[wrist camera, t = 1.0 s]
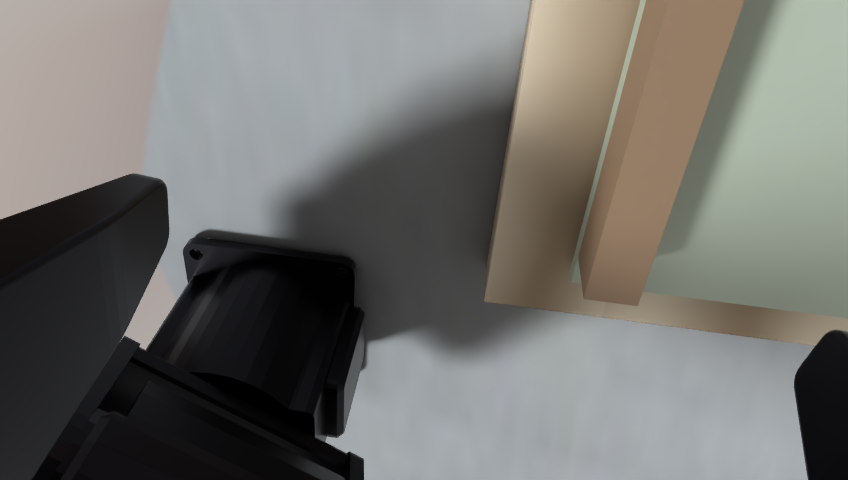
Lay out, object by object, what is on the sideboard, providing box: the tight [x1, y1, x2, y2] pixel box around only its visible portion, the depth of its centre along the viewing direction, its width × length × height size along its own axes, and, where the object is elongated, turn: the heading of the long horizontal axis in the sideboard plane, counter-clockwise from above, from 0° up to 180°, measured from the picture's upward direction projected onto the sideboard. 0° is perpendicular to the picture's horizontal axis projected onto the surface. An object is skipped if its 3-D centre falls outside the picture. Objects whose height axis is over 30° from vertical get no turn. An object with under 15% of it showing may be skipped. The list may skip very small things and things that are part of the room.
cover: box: [570, 0, 848, 318], centre depth 17 cm, size 11×11×3 cm
